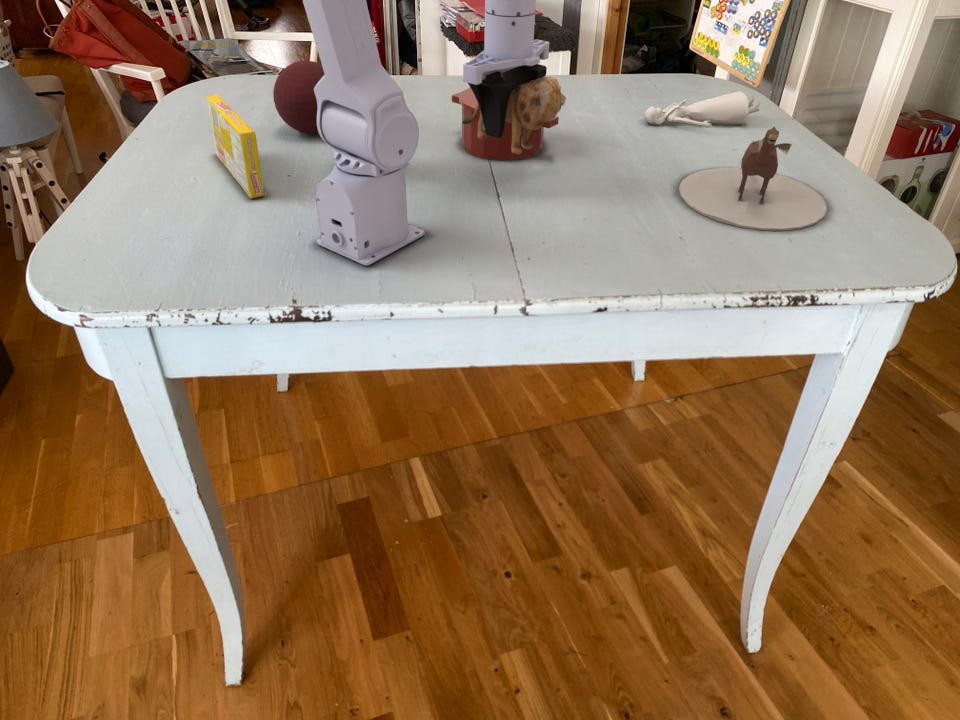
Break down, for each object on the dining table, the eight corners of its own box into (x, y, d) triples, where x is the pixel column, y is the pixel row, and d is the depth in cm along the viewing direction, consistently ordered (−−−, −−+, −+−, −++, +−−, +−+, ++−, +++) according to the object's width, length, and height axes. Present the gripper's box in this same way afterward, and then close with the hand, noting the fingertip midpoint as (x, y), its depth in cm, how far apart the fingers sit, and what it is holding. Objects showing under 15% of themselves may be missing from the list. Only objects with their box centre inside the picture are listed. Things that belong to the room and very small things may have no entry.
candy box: (267, 196, 88) (255, 130, 83) (250, 200, 87) (237, 134, 82) (231, 153, 99) (219, 92, 94) (216, 156, 98) (202, 95, 93)
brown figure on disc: (832, 240, 81) (865, 148, 74) (673, 217, 85) (690, 128, 78) (820, 179, 95) (847, 97, 88) (683, 162, 99) (699, 82, 92)
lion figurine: (564, 154, 87) (576, 78, 82) (538, 163, 83) (549, 84, 78) (474, 123, 94) (480, 52, 89) (447, 130, 91) (451, 56, 86)
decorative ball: (350, 120, 110) (343, 52, 104) (342, 144, 102) (334, 72, 96) (286, 120, 110) (275, 52, 104) (273, 143, 102) (260, 71, 96)
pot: (527, 172, 95) (529, 125, 91) (432, 142, 103) (430, 97, 99) (572, 147, 102) (577, 103, 99) (480, 121, 111) (481, 79, 107)
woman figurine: (775, 103, 105) (658, 114, 104) (769, 132, 108) (655, 144, 107) (743, 80, 115) (634, 90, 113) (738, 107, 117) (632, 118, 116)
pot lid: (513, 127, 92) (515, 90, 89) (440, 106, 98) (439, 71, 96) (565, 103, 100) (568, 68, 97) (494, 85, 106) (495, 52, 103)
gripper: (500, 28, 73) (496, 154, 82) (574, 6, 83) (563, 122, 91) (448, 18, 77) (449, 140, 85) (524, -3, 86) (519, 110, 94)
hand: (505, 130), depth 88 cm, fingers closed on lion figurine, 4 cm apart
